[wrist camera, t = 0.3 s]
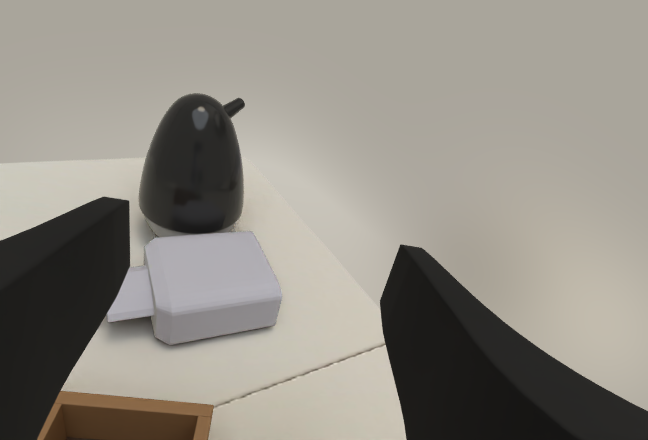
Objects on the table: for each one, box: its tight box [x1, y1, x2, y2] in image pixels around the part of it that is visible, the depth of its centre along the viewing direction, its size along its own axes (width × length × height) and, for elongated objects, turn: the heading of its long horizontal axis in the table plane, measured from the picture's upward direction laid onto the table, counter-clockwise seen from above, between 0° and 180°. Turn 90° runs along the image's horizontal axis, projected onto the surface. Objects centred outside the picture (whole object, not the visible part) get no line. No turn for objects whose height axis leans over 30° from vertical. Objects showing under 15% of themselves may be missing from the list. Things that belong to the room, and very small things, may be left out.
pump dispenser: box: [139, 93, 245, 237], centre depth 42 cm, size 10×10×15 cm
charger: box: [107, 231, 282, 345], centre depth 35 cm, size 5×9×15 cm
